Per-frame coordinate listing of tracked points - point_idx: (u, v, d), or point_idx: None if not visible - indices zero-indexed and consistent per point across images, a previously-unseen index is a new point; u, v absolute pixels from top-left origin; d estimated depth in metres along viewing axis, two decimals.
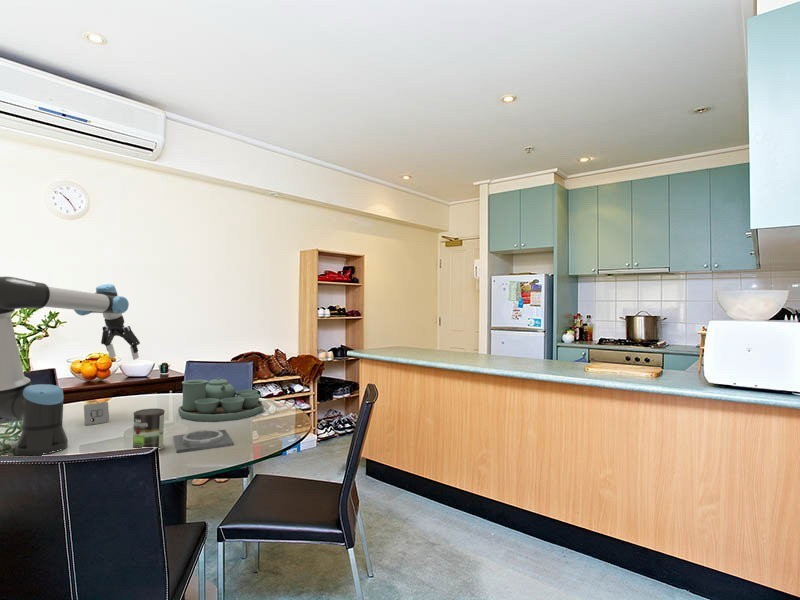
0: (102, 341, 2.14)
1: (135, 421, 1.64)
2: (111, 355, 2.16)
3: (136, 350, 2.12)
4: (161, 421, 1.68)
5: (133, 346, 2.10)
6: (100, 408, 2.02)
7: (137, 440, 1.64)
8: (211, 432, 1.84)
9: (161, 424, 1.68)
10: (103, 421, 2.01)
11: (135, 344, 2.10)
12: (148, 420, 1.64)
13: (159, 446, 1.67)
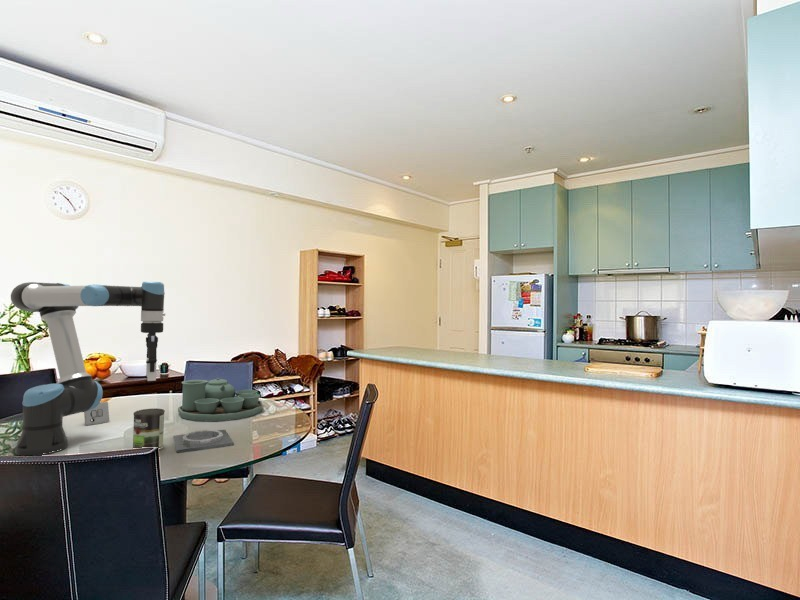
0: None
1: (135, 421, 1.64)
2: (147, 372, 1.74)
3: (151, 369, 1.62)
4: (161, 421, 1.68)
5: (148, 362, 1.62)
6: (100, 408, 2.02)
7: (137, 440, 1.64)
8: (211, 432, 1.84)
9: (161, 424, 1.68)
10: (103, 421, 2.01)
11: (148, 359, 1.60)
12: (148, 420, 1.64)
13: (159, 446, 1.67)
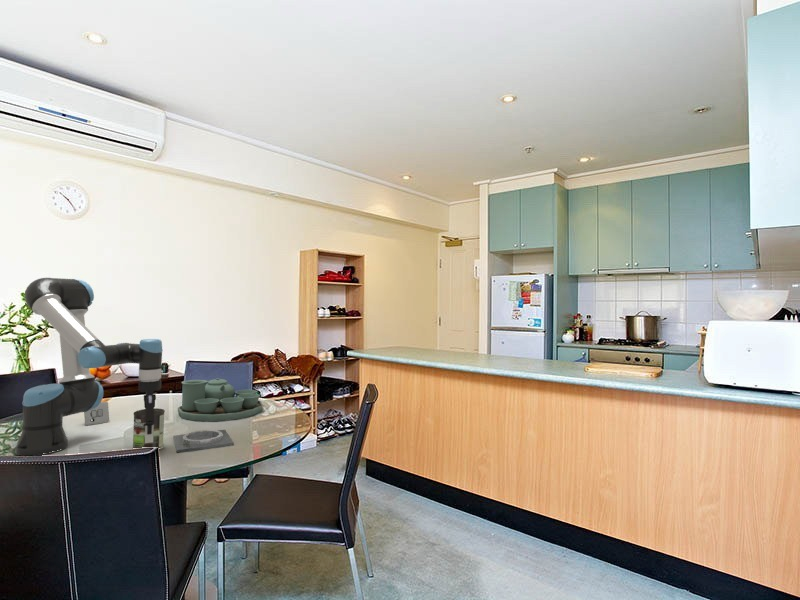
0: None
1: (135, 421, 1.64)
2: None
3: (149, 431, 1.62)
4: (161, 421, 1.68)
5: (146, 425, 1.62)
6: (100, 408, 2.02)
7: (137, 440, 1.64)
8: (211, 432, 1.84)
9: (161, 424, 1.68)
10: (103, 421, 2.01)
11: (146, 423, 1.61)
12: None
13: (159, 446, 1.67)
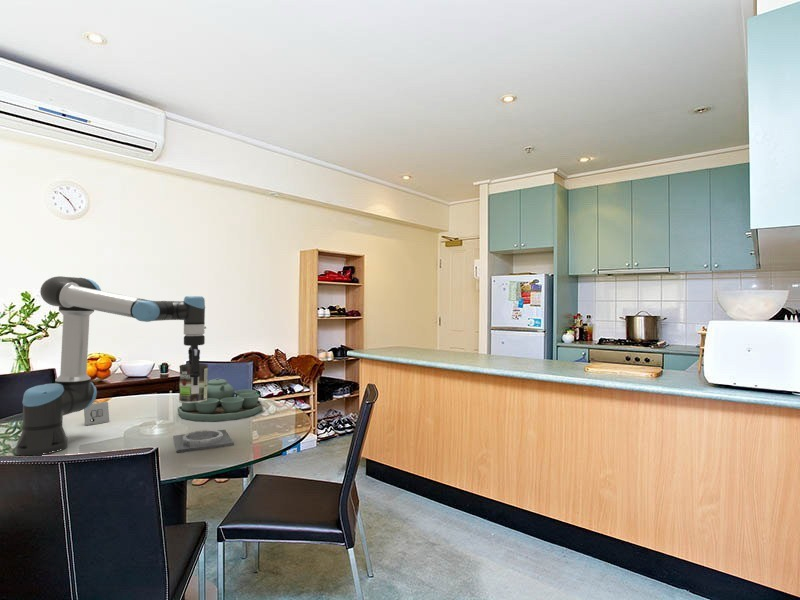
0: None
1: (181, 373, 1.72)
2: None
3: (195, 382, 1.70)
4: (205, 374, 1.75)
5: (192, 376, 1.70)
6: (100, 408, 2.02)
7: (184, 391, 1.71)
8: (211, 432, 1.84)
9: (205, 377, 1.76)
10: (103, 421, 2.01)
11: (192, 374, 1.68)
12: None
13: (204, 398, 1.75)
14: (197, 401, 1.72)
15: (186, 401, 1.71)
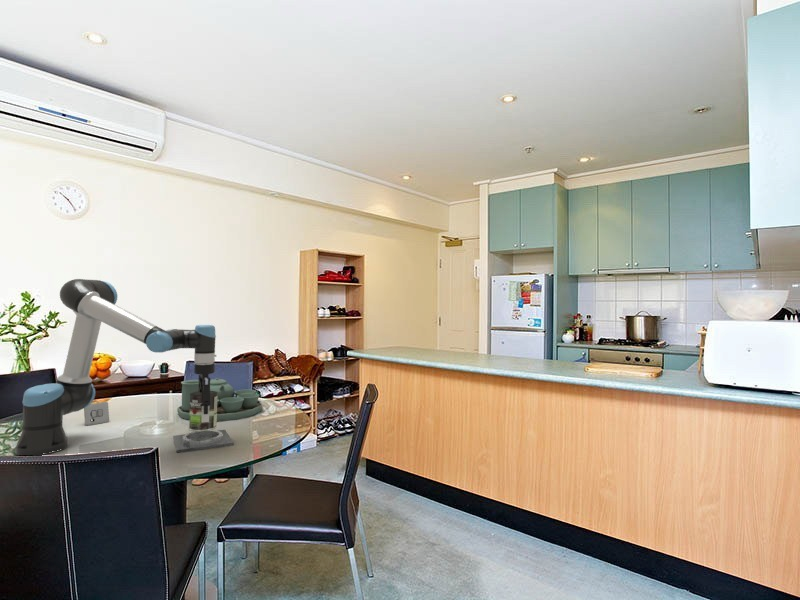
0: None
1: (192, 402, 1.74)
2: None
3: (205, 411, 1.72)
4: (215, 402, 1.78)
5: (203, 405, 1.72)
6: (100, 408, 2.02)
7: (194, 420, 1.73)
8: (211, 432, 1.84)
9: (215, 405, 1.78)
10: (103, 421, 2.01)
11: (203, 403, 1.70)
12: None
13: (214, 425, 1.77)
14: (207, 429, 1.74)
15: (196, 429, 1.73)
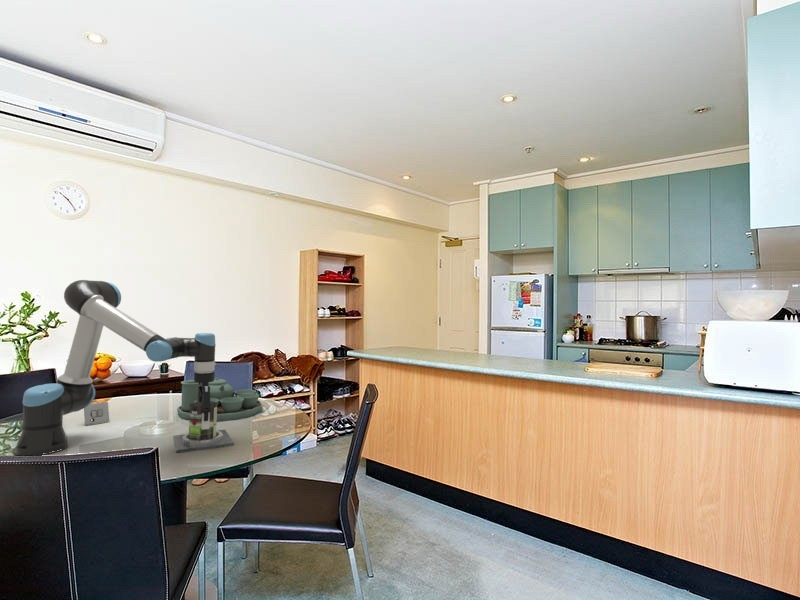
0: None
1: (191, 413, 1.74)
2: None
3: (206, 418, 1.71)
4: (215, 413, 1.78)
5: (203, 412, 1.71)
6: (100, 408, 2.02)
7: (194, 431, 1.73)
8: None
9: (215, 416, 1.78)
10: (103, 421, 2.01)
11: (203, 410, 1.69)
12: None
13: (213, 436, 1.77)
14: None
15: None
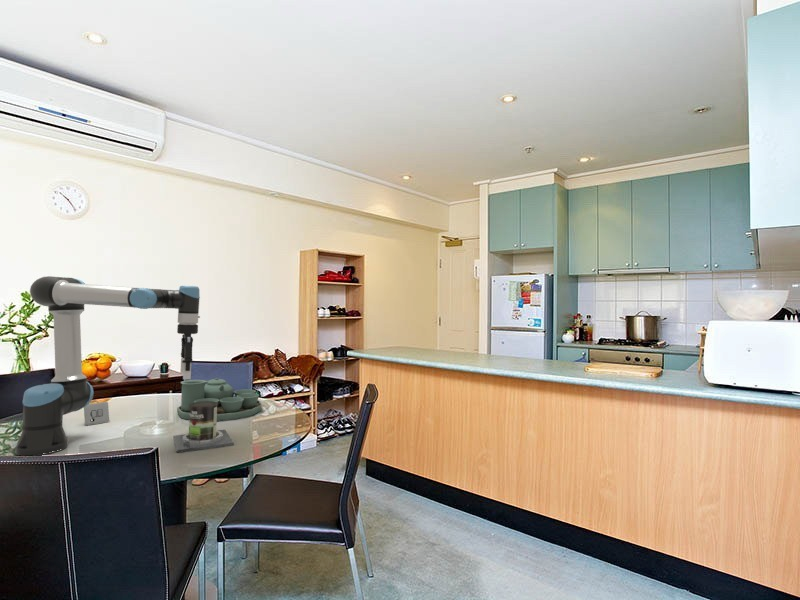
0: (181, 352, 1.87)
1: (191, 413, 1.74)
2: (182, 370, 1.85)
3: (187, 368, 1.73)
4: (215, 413, 1.78)
5: (184, 361, 1.72)
6: (100, 408, 2.02)
7: (194, 431, 1.73)
8: None
9: (215, 416, 1.78)
10: (103, 421, 2.01)
11: (185, 359, 1.71)
12: (204, 412, 1.74)
13: (213, 436, 1.77)
14: None
15: None
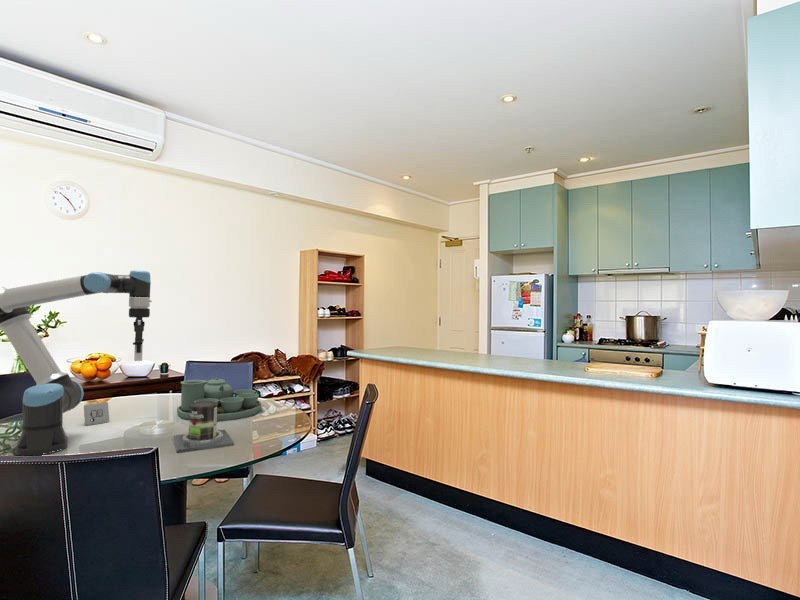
0: None
1: (191, 413, 1.74)
2: None
3: (138, 350, 1.77)
4: (215, 413, 1.78)
5: (135, 344, 1.77)
6: (100, 408, 2.02)
7: (194, 431, 1.73)
8: None
9: (215, 416, 1.78)
10: (103, 421, 2.01)
11: (135, 341, 1.76)
12: (204, 412, 1.74)
13: (213, 437, 1.77)
14: None
15: None
